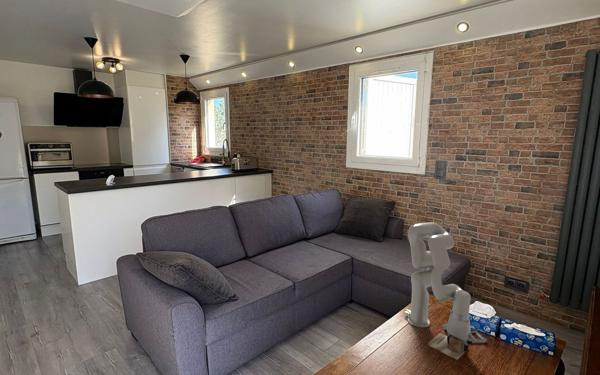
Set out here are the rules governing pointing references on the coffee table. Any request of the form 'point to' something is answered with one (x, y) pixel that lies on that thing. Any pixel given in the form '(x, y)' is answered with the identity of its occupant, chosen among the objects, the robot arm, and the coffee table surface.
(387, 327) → the coffee table surface
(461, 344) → the walnut sanding block
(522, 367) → the coffee table surface
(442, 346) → the pine board
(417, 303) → the robot arm
